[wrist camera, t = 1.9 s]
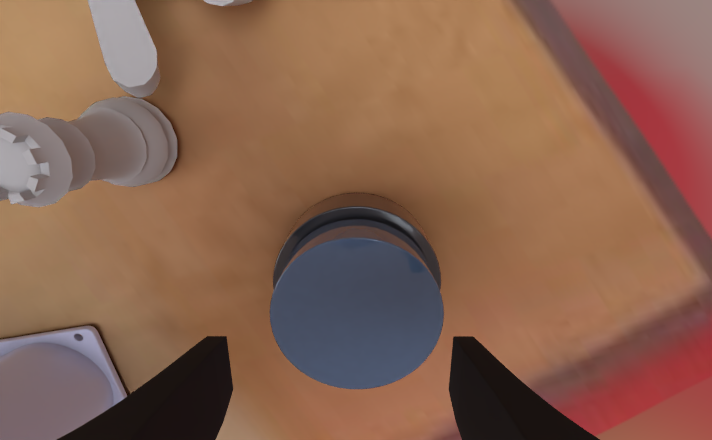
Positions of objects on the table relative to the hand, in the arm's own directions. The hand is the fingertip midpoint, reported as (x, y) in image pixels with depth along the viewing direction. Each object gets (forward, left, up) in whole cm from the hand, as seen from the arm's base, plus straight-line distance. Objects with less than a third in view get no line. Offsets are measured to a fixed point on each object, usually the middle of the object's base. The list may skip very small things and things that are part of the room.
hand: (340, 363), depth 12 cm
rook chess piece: (-10, +8, -10) cm, 16 cm away
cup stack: (0, -1, -10) cm, 10 cm away
